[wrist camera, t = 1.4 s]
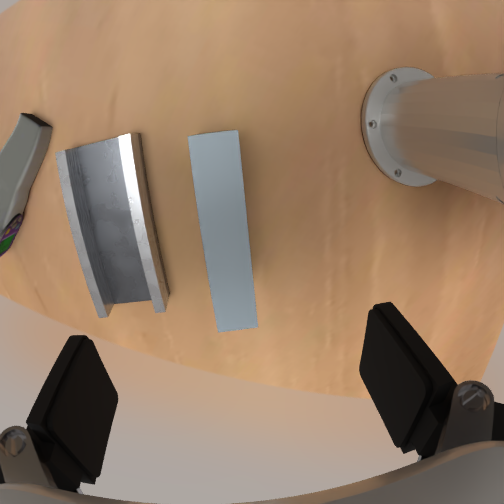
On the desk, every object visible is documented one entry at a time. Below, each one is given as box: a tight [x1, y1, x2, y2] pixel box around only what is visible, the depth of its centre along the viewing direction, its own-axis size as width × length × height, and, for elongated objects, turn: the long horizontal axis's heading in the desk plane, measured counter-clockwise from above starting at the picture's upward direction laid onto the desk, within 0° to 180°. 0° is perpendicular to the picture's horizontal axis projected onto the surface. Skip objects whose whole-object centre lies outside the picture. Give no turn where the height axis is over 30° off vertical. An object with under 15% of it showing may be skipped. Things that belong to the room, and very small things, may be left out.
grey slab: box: [188, 130, 258, 332], centre depth 24 cm, size 14×3×9 cm, turn 5°
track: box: [55, 133, 170, 318], centre depth 26 cm, size 16×7×4 cm, turn 5°
